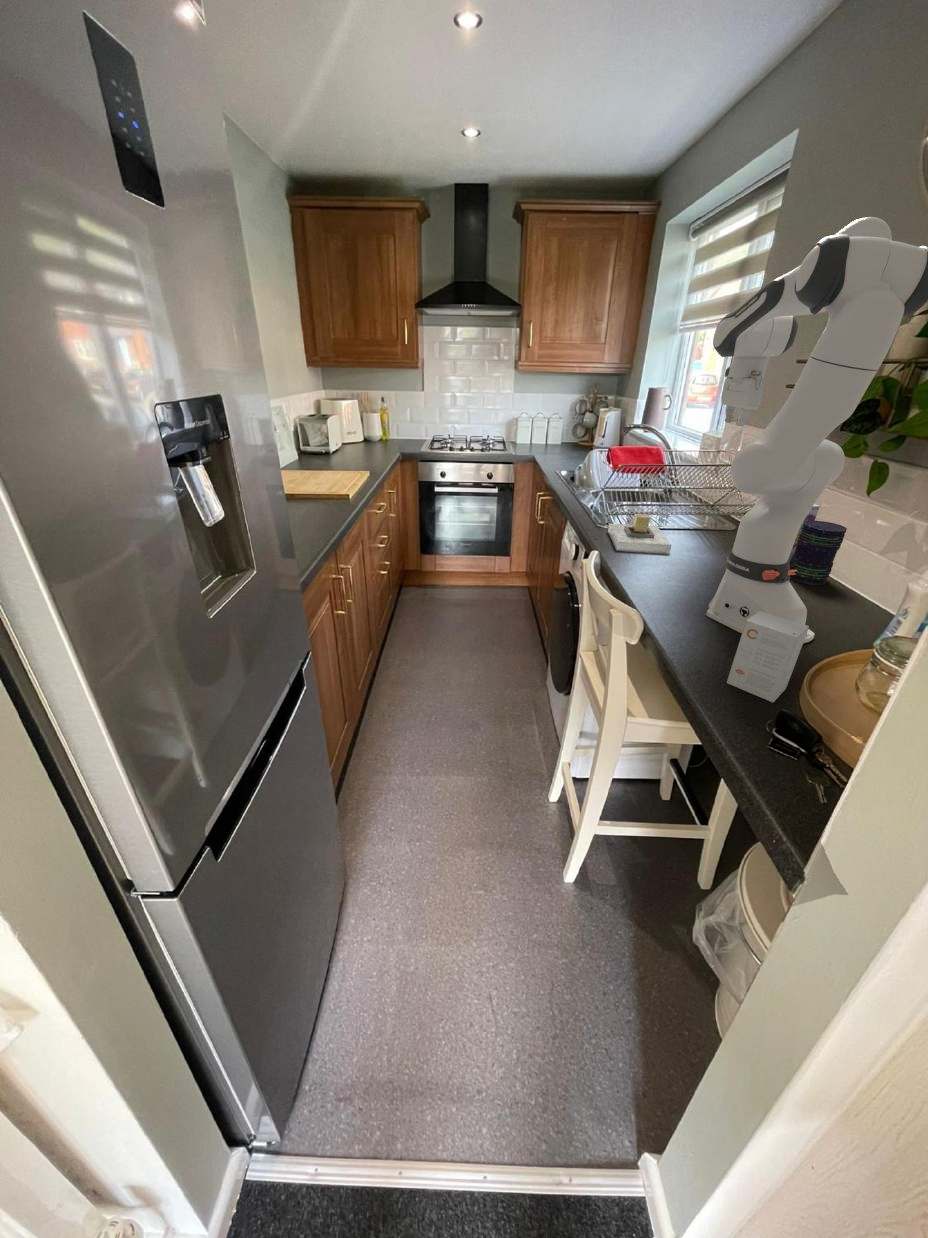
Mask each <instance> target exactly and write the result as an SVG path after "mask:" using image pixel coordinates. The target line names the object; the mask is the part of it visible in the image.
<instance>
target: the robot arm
mask: <svg viewBox="0 0 928 1238" xmlns="http://www.w3.org/2000/svg"><path fill="white" fill-rule="evenodd" d="M927 303H928V246H925V245H921V246H920V245H919V246H916V245H913V244H909V243H906V242H902V241H897V240H893V237H892V230H891V227H890V226H889V225H888V223H887V222H886V221H885V220H883V219H881V218H879V217H877V216H876V217H875V216H867V217H862V218H859V219H855V220H854V221H852V222H850V223H849V224H847V225H846V226H844V228H842V229H841V230H838V232H836V233H835V234H833V235H829V236H825V237H823V238H821V239H820V240H818V242H816V243H815V244H814V245H813V246H812V247H811V248H810V250H809V251H808V253H807V254H806V256H805V257H804V259H803V261H802V262H801V264H800V265H798V266H797V267H795V268H794V269H792V270H791V271H788V272H787V273H785V274H783V275H781V276H779V277H777V278H776V279H773V280H772V281H769V282H768V283H766V285H764V286H763V287H762V288H761V289H759V290H758V291H757V292H756V293H755V294H754V295H752V296H751V297H750V298H749V299H747V300H746V301H745V302H744V303H742V304H741V305H740V306H739V307H738V308H737V309H736V310H732V311H729V313H727V314H726V315H725V316H724V317H723V318H722V319H721V320H720V321H719V322H718V324H717V326H716V328H715V330H714V331H715V332H714V333H713V340H712V341H713V342H712V344H713V348H714V349H715V351H716V352H717V354H718V355H719V356H721V357H722V358H727V357H729V358H731V357H732V361H731V364H730V365H729V366H728V367H727V368H726V369H725V371H724V378H725V380H724V382H723V386H722V392H721V398H720V399H721V400H720V401H721V405H722V406H723V405H725V417H724V422H725V423H726V424H727V423H730V424H731V423H733V421H734V410H736V408H738V409H740V410H739V411H740V412H739V413H740V414H739V416H738V418H737V419H736V423H735V425H736V426H737V427H744V426H745V424H746V420H747V419H748V417H749V415H750V414H751V410H758V409H759V407H760V406H761V402H762V397H763V394H764V388H765V379H764V378H765V375H766V371H767V368H768V364H769V360H770V358H771V357H777V356H781V355H783V354H784V353H785V352H788V350H789V349H790V348H791V347H792V346H793V344H794V342H795V339H796V336H797V332H798V330H799V329H798V328H799V327H798V326H799V323H798V322H797V319H796V317H795V316H811V315H813V316H815V315H818V314H822V313H825V312H827V315H828V318H827V319H828V320H827V323H826V324H825V325H826V326H825V328H824V330H823V331H822V333H821V335H820V337H819V339H817V342H816V344H815V345H814V347H813V349H812V351H811V353H810V356H809V357H808V360H807V361H806V363H805V365H804V367H803V369H802V371H801V373H800V376H799V377H798V379H797V381H796V383H795V384H794V387H793V389H792V390H791V393H790V394H789V395H788V398H787V399H786V400H785V402H784V404H783V405H782V407H781V408H780V410H778V411H777V413H776V415H775V416H774V417H773V418H772V420H771V421H770V422H769V423H768V424H767V425H766V427H765V428H764V429H763V430H762V431H761V433H760V434H759V435H758V436H756V438H755V439H754V440H752V441H751V442H750V443H749V444H747V445H745V446H744V447H742V448H741V449H739V451H738V452H737V453H736V455H735V456H734V457H733V459H732V461H731V465H730V473H729V474H730V479H731V482H732V484H733V486H734V488H736V489H737V490H739V492H742V493H744V494H748V495H752V496H758V497H759V499H758V500H757V502H755V503H756V504H755V505H754V506H753V508H752V507H751V508H752V509H749V510H748V511H747V512H745V514H744V515H743V516H742V518H741V520H740V523H739V526H738V529H737V533H736V536H735V540H734V543H733V546H732V549H731V550H729V554H728V556H727V558H726V563H725V567H726V569H725V573H724V574H723V576H722V579H721V581H720V583H719V585H718V587H717V589H716V591H715V594H714V596H713V597H712V599H711V600H710V601H709V603H708V606H707V607H708V609H707V612H706V613H705V615H706V616H707V617H708V618H710V619H712V620H714V621H716V622H718V623H720V624H721V625H724V626H726V627H728V628H730V629H732V630H733V631H736V632H738V633H740V634H742V632H743V629H744V626H745V622H746V620H747V619H749V618H750V617H752V616H753V615H755V614H756V613H757V612H759V611H763V612H766V613H769V614H772V615H775V616H778V617H782V618H785V619H788V620H791V621H794V622H797V623H801V624H804V625H806V622H807V617H808V616H807V615H808V610H807V606H806V605H805V603H804V602H803V600H802V599H801V597H800V596H799V594H798V592H797V591H796V590H795V588H794V587H793V585H792V583H791V582H790V575H796V574H795V573H792V572H796V571H797V570H790V564H789V560H788V559H789V556H790V553H791V550H792V548H793V545H794V542H795V540H796V537H797V534H798V531H799V529H800V527H801V525H802V523H803V521H804V519H805V518H806V516H807V515H808V513H809V511H810V510H811V508H812V507H813V505H814V504H816V502H817V501H818V499H819V498H820V497H821V495H822V494H823V492H824V491H825V490H826V489H827V488H828V487H829V486H830V485H831V484H832V483H833V482H834V481H836V480H837V479H838V478H839V477H840V475H841V474H842V472H843V470H844V468H845V463H846V458H845V457H846V456H845V453H844V451H843V448H842V447H841V446H840V445H839V444H838V443H836V442H833V441H831V440H829V439H827V437H828V436H829V435H830V434H831V433H832V432H833V431H834V430H835V429H836V428H837V427H838V426H840V425H841V424H842V423H844V422H845V421H847V420H848V419H849V418H851V416H852V415H853V414H854V412H855V410H856V409H857V407H858V405H859V404H860V402H861V401H862V398H863V396H864V395H865V393H866V392H867V389H868V388H869V386H870V384H871V383H872V381H873V379H874V378H875V375H876V374H877V373H878V371H879V369H880V367H881V365H882V363H883V362H884V360H885V358H886V356H887V354H888V352H889V350H890V348H891V346H892V344H893V341H894V339H895V338H896V335H897V332H898V329H899V327H900V325H901V322H902V320H903V318H907V317H910V316H911V315H914V314H915V313H916V312H917V311H919V310H920V309H921V308H923V307H924V306H925V305H926V304H927ZM814 637H815V632H813V631H812V630H811V629H810V628H808V631H807V634H806V637H805V639H804V642H803V644H806V643H809V642H811V641H813V640H814Z"/></svg>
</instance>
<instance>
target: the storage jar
mask: <svg viewBox="0 0 928 1238" xmlns="http://www.w3.org/2000/svg"><path fill="white" fill-rule="evenodd" d="M847 530H848V528H847V527H845V526H844V525H841V524H838V523H833V522H829V521H825V520H824V521H823V520H815V521H805V522H804V524H803V527H802V529H801V531H800V534H799V538H798V541H797V543H798V544H797V547H796V550H795V552H794V555H793V556H792V558H791V561H790V563H789V564H790V570H797V571H796V572H792V573H795V574H796V575H790V579H791V580H793V581H795V582H798V583H802V584H805V585H815V586H816V585H817V586H820V585H825V584H826V583H827V581H828V580H827V579H828V578H829V576H830V575H831V572H832V568H833V567H834V566H833V565H834V560H835V558H836V555H837V553H838V551H840V548H841V545H842V544H843V541H844V537H845V535H846V534H845V533H846V532H847ZM790 579H789V580H790Z"/></svg>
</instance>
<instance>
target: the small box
mask: <svg viewBox="0 0 928 1238" xmlns="http://www.w3.org/2000/svg"><path fill="white" fill-rule="evenodd" d="M809 627H810V626H809V625H807V624H805V625H804V624H801V623H797V622H794V621H791V620H788V619H785V618H782V617H778V616H775V615H772V614H769V613H766V612H763V611H759V612H757V613H756V614H755V615H753V616H752V617H750V618H749V619H747V620H746V622H745V626H744V629H743V632H742V633H741V636H740V638H739V643H738V645H737V649H736V650H735V651H736V652H735V655H734V657H733V661H732V664H731V667H730V671H729V673H728V677H727V680H726V684H728V685H730V686H733V687H735V688H737V689H740V690H741V691H742V690H743V691H745V692H747V693H749V694H752V695H753V696H757V697H759V698H761V699H764V700H766V701H768V702H770V703H774V702H776V700H777V699H778V698H779V697H780V696H781V694H783V692H785V691H786V689H787V687H788V684H789V681H790V679H791V676H792V673H793V671H794V669H795V666H796V663H797V660H798V657H799V655H800V653H801V650H802V648H803V645H804V643H803V642H804V639H805V637H806V634H807V631H808V629H810V628H809Z"/></svg>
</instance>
